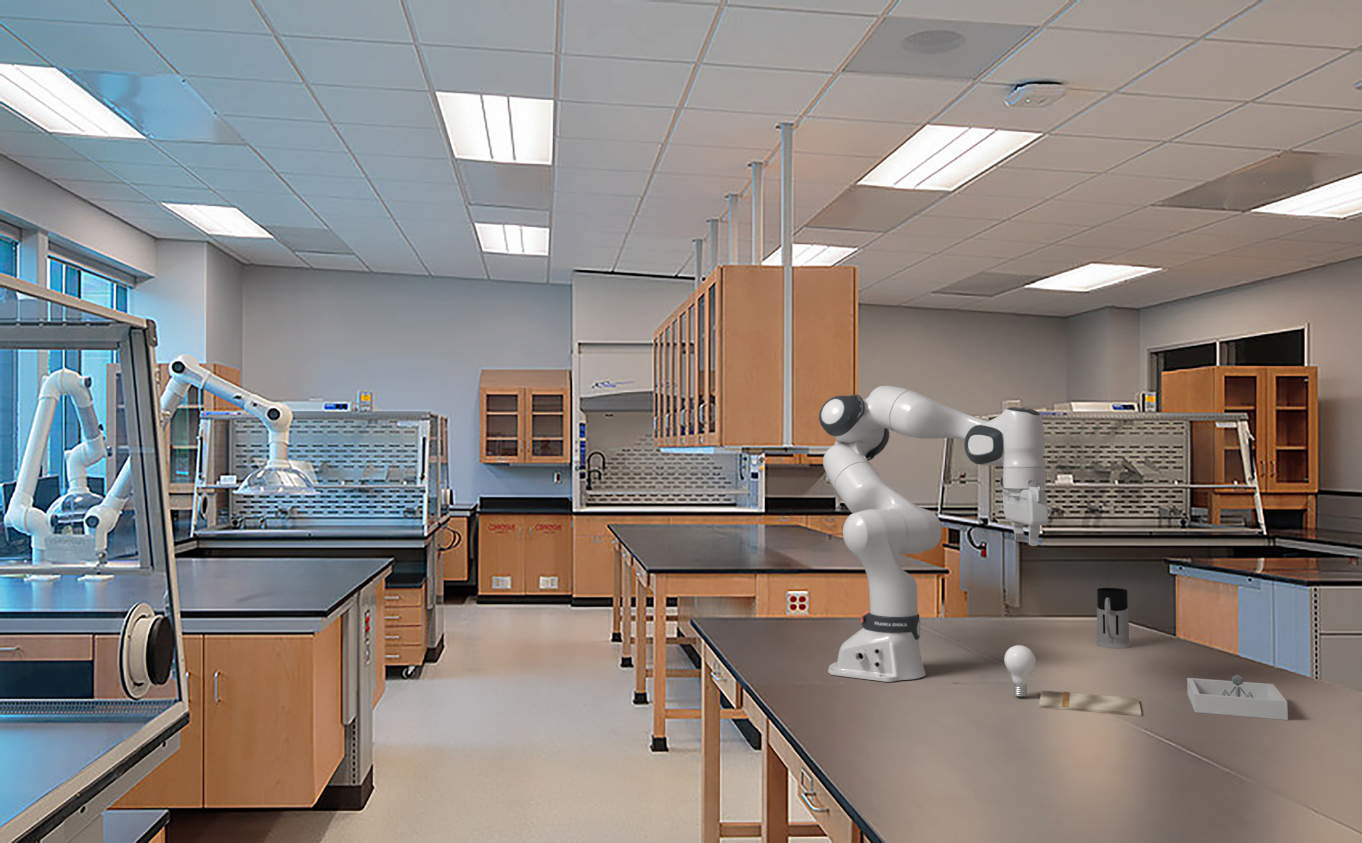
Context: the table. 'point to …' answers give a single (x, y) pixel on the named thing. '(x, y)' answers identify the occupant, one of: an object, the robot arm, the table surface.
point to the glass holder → (1112, 618)
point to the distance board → (1090, 703)
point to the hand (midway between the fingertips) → (1026, 543)
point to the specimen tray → (1236, 699)
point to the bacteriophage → (1237, 681)
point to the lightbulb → (1020, 667)
